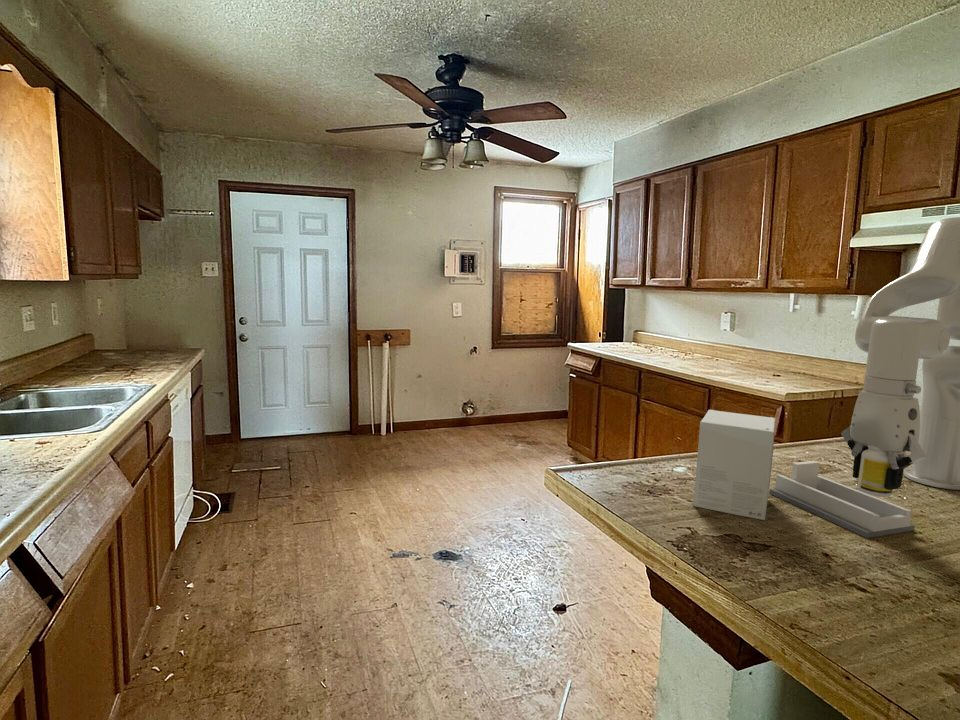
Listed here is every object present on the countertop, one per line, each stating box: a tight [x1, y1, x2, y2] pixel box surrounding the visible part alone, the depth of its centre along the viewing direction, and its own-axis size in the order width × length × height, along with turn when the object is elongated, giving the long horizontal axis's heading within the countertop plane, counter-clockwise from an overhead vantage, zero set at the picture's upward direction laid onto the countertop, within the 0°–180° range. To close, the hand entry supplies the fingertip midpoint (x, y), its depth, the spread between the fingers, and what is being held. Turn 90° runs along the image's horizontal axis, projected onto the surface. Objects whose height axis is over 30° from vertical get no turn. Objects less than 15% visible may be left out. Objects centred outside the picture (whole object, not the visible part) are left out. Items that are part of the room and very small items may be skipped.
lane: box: [768, 474, 916, 539], centre depth 115 cm, size 12×22×4 cm, turn 19°
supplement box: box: [692, 409, 776, 521], centre depth 116 cm, size 13×13×18 cm
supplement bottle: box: [856, 445, 893, 498], centre depth 107 cm, size 5×5×10 cm
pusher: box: [790, 460, 820, 489], centre depth 122 cm, size 6×1×6 cm, turn 109°
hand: (875, 481), depth 107 cm, fingers closed on supplement bottle, 5 cm apart
